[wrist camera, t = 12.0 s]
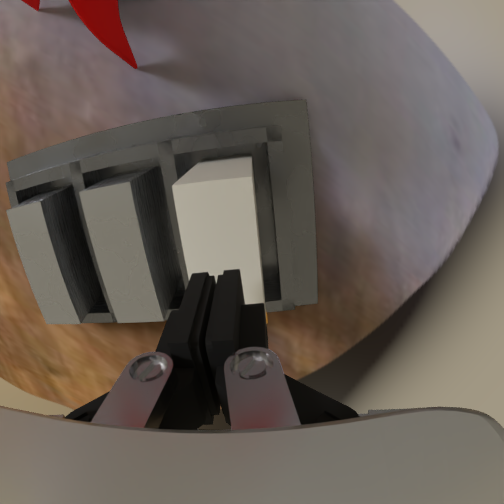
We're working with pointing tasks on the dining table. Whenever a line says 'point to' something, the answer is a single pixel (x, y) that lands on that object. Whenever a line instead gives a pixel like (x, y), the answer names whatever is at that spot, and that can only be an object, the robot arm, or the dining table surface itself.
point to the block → (221, 221)
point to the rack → (158, 212)
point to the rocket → (101, 24)
